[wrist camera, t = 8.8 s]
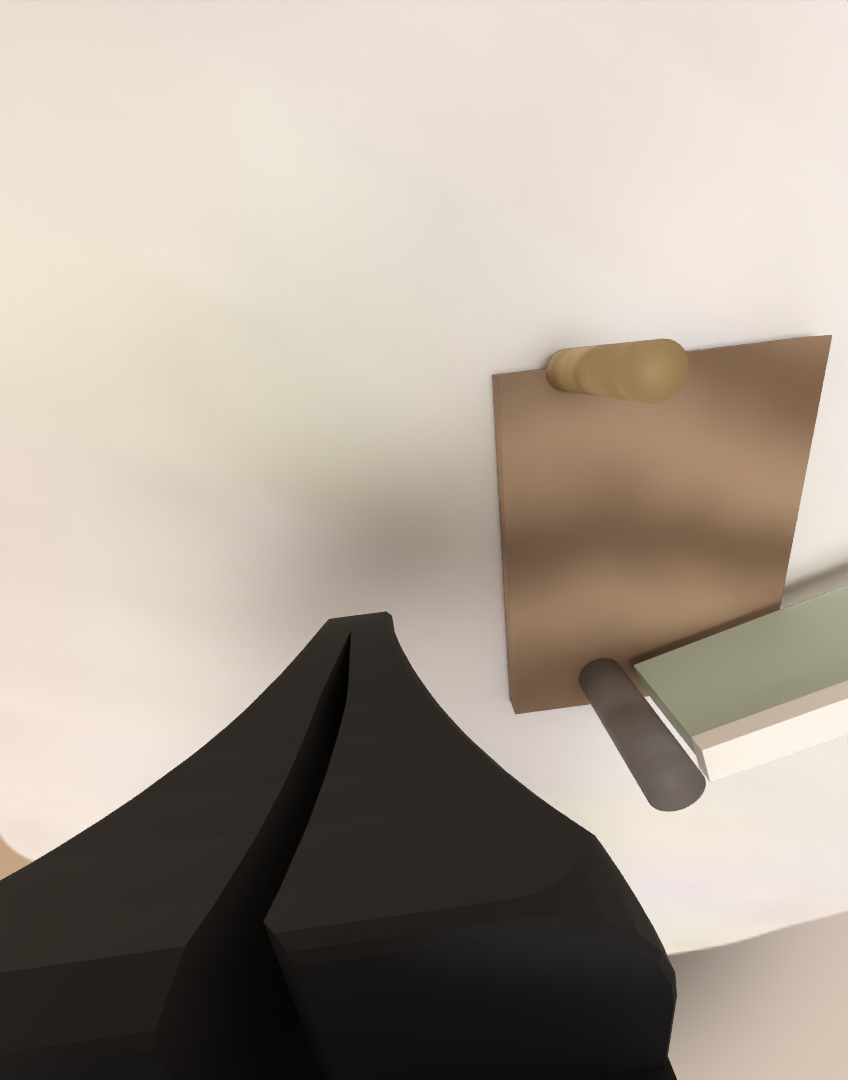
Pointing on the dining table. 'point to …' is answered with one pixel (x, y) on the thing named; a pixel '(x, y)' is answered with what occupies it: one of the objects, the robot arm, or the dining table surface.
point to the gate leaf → (758, 686)
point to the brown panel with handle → (646, 520)
